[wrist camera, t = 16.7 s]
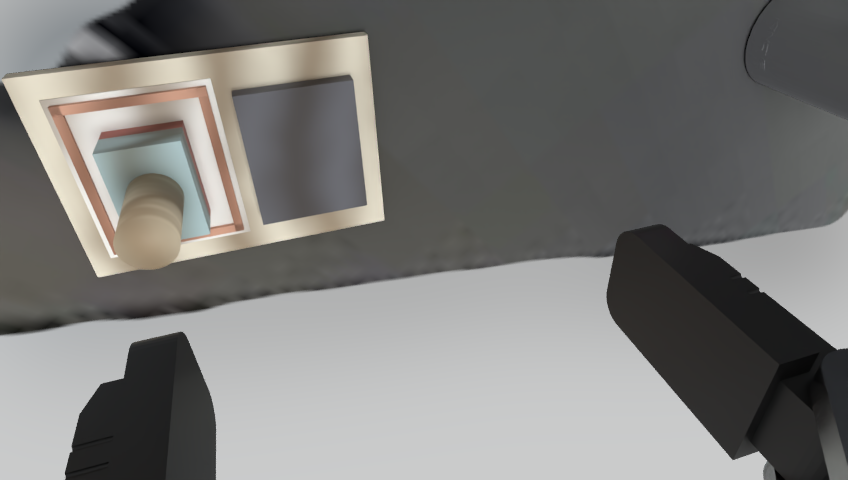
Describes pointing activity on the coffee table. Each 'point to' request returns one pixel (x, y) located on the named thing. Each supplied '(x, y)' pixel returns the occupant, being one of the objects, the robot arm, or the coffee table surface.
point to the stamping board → (220, 137)
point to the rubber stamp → (152, 192)
